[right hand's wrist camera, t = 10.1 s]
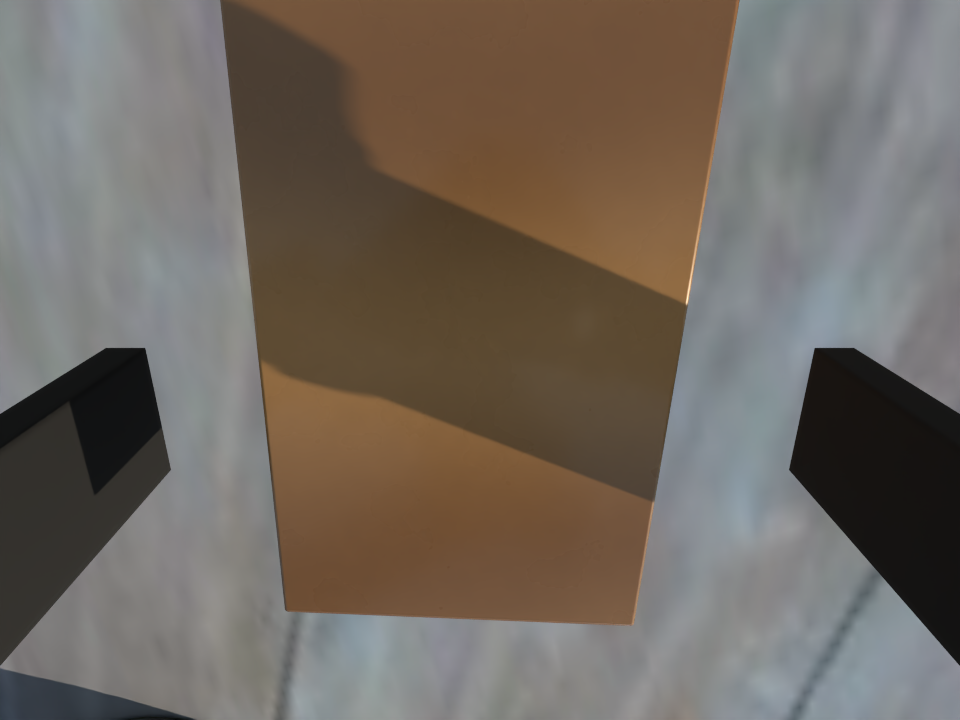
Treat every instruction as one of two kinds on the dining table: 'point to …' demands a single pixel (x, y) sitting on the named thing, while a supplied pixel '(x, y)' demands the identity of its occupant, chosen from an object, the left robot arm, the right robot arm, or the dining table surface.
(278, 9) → the bar
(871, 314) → the dining table surface
